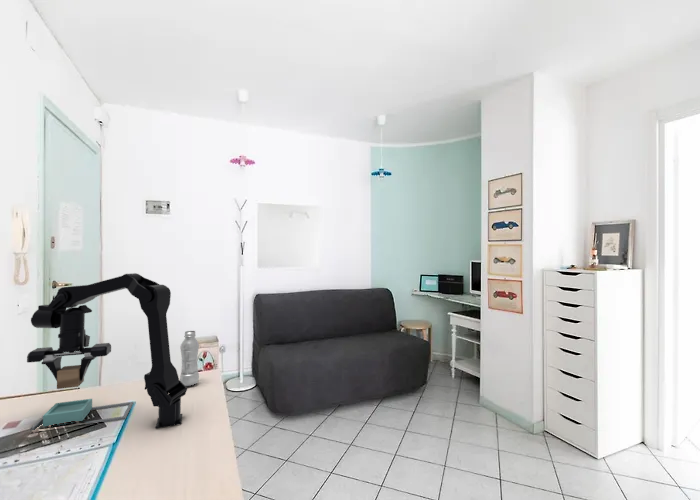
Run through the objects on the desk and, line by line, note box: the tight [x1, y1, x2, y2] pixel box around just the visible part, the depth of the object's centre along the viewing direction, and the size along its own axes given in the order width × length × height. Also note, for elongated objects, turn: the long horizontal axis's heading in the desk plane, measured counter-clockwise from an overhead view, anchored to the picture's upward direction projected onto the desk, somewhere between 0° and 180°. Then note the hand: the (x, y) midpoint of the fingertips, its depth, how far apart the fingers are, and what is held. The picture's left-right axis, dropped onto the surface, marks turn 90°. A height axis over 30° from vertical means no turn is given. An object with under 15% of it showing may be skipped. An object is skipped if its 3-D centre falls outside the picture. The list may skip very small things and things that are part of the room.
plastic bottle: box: [179, 330, 200, 387], centre depth 129 cm, size 6×7×20 cm
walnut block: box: [56, 364, 85, 390], centre depth 101 cm, size 5×5×5 cm
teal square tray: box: [42, 398, 93, 427], centre depth 101 cm, size 9×9×4 cm
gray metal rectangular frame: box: [30, 401, 134, 431], centre depth 102 cm, size 12×22×2 cm, turn 113°
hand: (70, 381), depth 101 cm, fingers closed on walnut block, 5 cm apart
